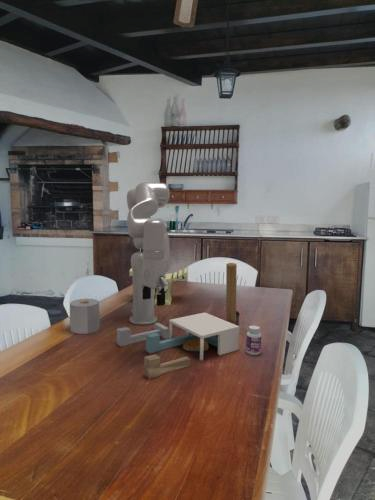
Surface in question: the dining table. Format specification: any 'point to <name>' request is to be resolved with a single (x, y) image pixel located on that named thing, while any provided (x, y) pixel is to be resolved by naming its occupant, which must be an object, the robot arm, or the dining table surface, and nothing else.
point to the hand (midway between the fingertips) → (153, 301)
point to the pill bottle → (253, 340)
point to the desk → (209, 331)
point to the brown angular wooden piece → (162, 365)
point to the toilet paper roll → (84, 316)
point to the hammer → (231, 294)
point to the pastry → (195, 345)
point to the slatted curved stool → (169, 280)
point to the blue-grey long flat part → (172, 341)
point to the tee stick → (127, 339)
